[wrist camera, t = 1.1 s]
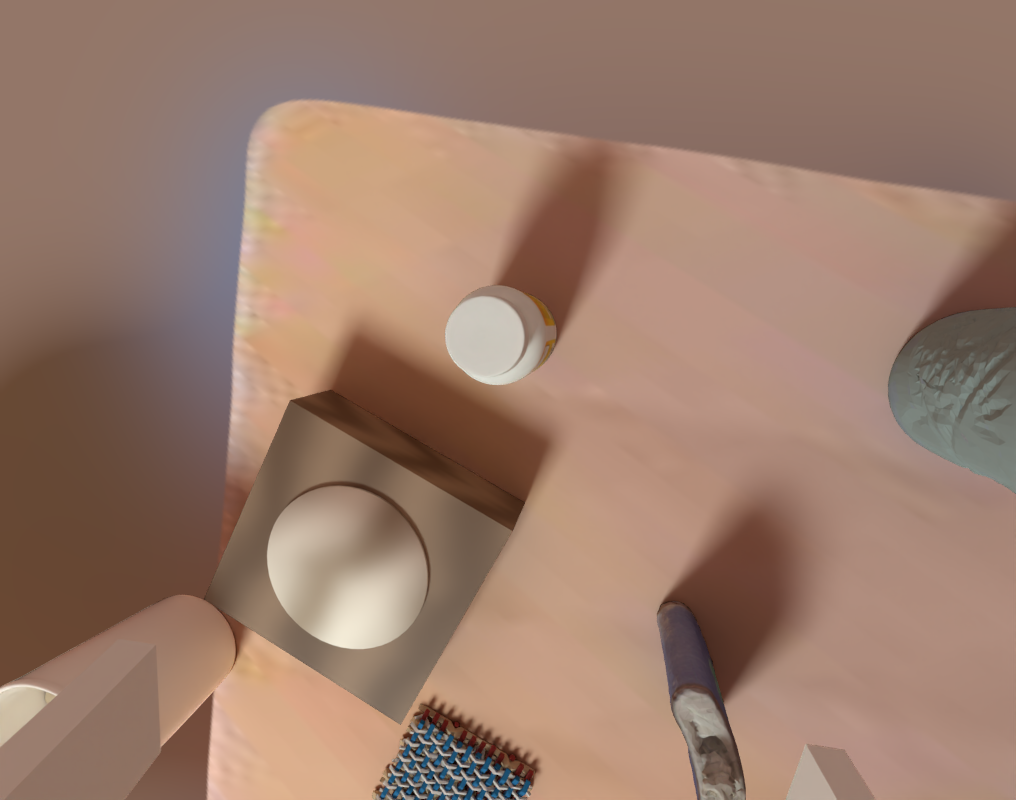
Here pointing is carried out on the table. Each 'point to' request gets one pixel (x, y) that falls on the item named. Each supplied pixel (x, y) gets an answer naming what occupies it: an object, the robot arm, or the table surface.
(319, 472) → the walnut plinth
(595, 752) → the table surface
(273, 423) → the table surface
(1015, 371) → the green cylinder
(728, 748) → the flask
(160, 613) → the candle holder
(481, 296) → the supplement bottle
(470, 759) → the woven mat
